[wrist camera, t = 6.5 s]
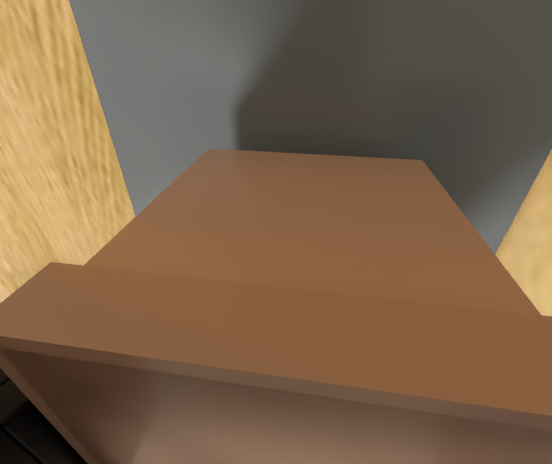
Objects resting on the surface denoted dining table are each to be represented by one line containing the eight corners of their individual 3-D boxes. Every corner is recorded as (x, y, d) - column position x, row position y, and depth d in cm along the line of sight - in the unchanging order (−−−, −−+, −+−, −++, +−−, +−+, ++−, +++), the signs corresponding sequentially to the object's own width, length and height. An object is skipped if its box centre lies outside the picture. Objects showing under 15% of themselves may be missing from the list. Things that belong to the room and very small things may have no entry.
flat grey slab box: (555, -3, 8) (640, -17, 6) (422, 310, 14) (439, 356, 12) (125, 1, 9) (66, -10, 7) (189, 285, 16) (168, 322, 14)
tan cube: (433, 152, 7) (691, 435, 2) (382, 315, 10) (433, 578, 5) (199, 140, 8) (-35, 330, 3) (221, 297, 11) (133, 513, 6)
